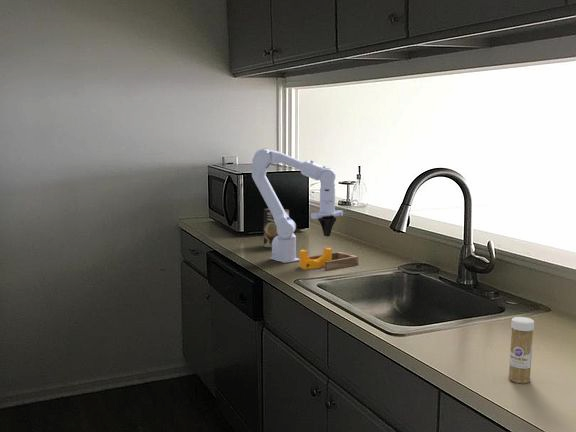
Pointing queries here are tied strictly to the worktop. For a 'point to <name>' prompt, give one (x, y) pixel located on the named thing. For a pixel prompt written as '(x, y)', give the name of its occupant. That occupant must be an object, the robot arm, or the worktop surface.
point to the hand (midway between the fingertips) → (326, 235)
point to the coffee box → (270, 227)
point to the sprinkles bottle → (521, 349)
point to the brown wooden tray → (338, 260)
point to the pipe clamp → (317, 263)
